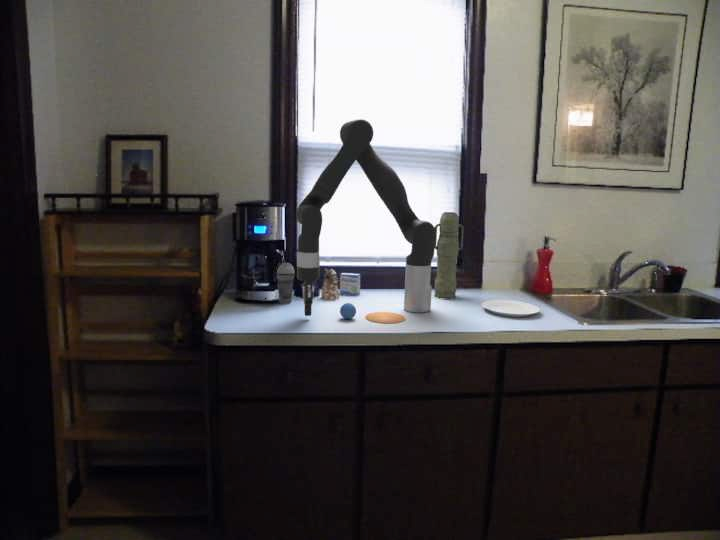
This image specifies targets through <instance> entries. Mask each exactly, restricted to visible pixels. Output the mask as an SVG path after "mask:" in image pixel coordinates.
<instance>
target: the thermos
mask: <svg viewBox="0 0 720 540" xmlns="http://www.w3.org/2000/svg"><path fill="white" fill-rule="evenodd" d="M459 221H460V220H459V215H458V213H456V212H451V211H450V212H448V211H446V212H442V213H441V216H440V219H439V223H437V224H436V225H434V228H435V233H436V239H435V249H434V250H436V256H437V261H436V277H435V280H434V298H436V297H438V298H437V299H440V298H445V299H444V300H452V299H451V298H454V299H456V292H457V279H456V276H457V262H458V261H457V260H458V257H459V252H460V251H461V250H462V251H463V246H464V245H463V244H464V230H465V227H464V226H463V225H462V224H460V222H459ZM438 227H439V235H438ZM459 228H460V237H459V236H458V232H459ZM437 235H438V236H437ZM437 237H438V239H437Z"/></svg>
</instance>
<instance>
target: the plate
mask: <svg viewBox="0 0 720 540" xmlns="http://www.w3.org/2000/svg"><path fill="white" fill-rule="evenodd" d="M481 306H482V307H483V308H485V309H487V310H488V311H490V312H491V313H493V314H496V315H498V316H503V315H504V317H510V316H511V317H513V318H515V317H516V318H519V317H520V318H521V317H522V318H523V317H527V316H531V315H534V314H537V313H539V312H540V310H541V309H540V308H539V307H538V306H536V305H535V304H531V303H528V302H523V301H517V300H508V299H493V300H485V301H484V302H482V303H481ZM492 308H495V309H496V308H497V309H498V310H499V311H500V310H501V311H502V312H497V311H498V310H497V309H496V310H497V311H493V310H491V309H492Z"/></svg>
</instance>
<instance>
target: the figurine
mask: <svg viewBox="0 0 720 540" xmlns="http://www.w3.org/2000/svg"><path fill="white" fill-rule="evenodd" d="M324 272H325V273H324V274H323V284H322V288H321V295H320V296H321V300H324V299H325V300H324V301H337V300H336V299H338V300H340V290H339V277H338V276H337V275H338V274H337V273H336V271H335V270H334V269H333V268H330V269H328V268H325V269H324Z"/></svg>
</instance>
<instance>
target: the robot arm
mask: <svg viewBox="0 0 720 540" xmlns="http://www.w3.org/2000/svg"><path fill="white" fill-rule="evenodd" d="M339 137H340V141H341V143H342V146H341V147H340V149H339V151H337V154H336V155H335V156H334V158H333V159H331V161H330V162H329V163H328V164H327V166H326V167H325V168H324V169H323V170H322V172H321V173H320V175H319V176H318V178H317V180H316V182H314V185H313V186H312V189H311V190H310V191H309V193H308V194H307V195H306V196H305V197H304V199H303V200H302V201H301V202H300V204H299V206H298V207H297V208H296V212H295V219H296V221H297V222H298V223H299V224H300V225H301V228H300V229H301V231H300V234H299V236H298V238H297V256H296V279H298V280H299V281H303V283H302V284H301V288H302V289H301V290H302V298H303V304H304V316H305V317H311V316H312V305H313V301H314V295H315V294H314V291H315V284H314V283H313V281H317V280H319V279H320V272H321V271H320V268H321V265H320V263H321V262H320V261H321V257H320V236H321V231H322V227H323V226H322V225H323V214H322V211H321V210H322V208H323V206H324V205H327V204H328V203H329V202H330V201H331V199H332V198H333V196H334V195H335V194H336V191H337V190H338V188H339V186H340V185H341V183H342V181H343V179H344V178H345V176H346V174H347V173H348V171H349V170H350V169H351V167H352V166H353V165H354V163H355V162H357V164H358V165H359V166H360V167H361V169H362V171H363V173H364V174H365V176H366V178H367V179H368V181H369V182H370V184H371V185H372V187H373V188H374V191H375V192H376V193H377V195H378V197H379V198H380V200H381V201H382V202H383V203H384V205H385V206H386V208H387V209H388V212H390V214H391V215H392V217H393V219H394V220H395V222H396V224H397V225H398V228H399V229H400V231H401V234H402V236H403V238H404V239H405V240H406V241H407V242H408V243H409V244H411V251H410V253H409V254H407V256H406V258H405V274H404V275H405V276H404V277H405V279H404V298H403V299H404V302H403V309H404V310H405V311H406V312H409V313H418V314H419V313H426V312H431V311H432V310H431V309H432V308H431V307H432V292H433V291H432V289H433V287H432V284H431V275H432V260H433V259H434V255H435V250H436V249H435V239H436V233H435V228H434V227H435V225H433V224H432V223H431V222H429V221H426V220H421V219H419V217H418V216H417V215H416V214H415V212H414V211H413V209H412V207H411V205H410V204H409V199H408V194H407V190H406V188H405V187H406V186H404V184H403V181H401V179H400V177H399V175H398V174H397V172H396V171H395V170H394V169H393V168H392V167H391V165H389V164H388V163H387V162H386V161H385V160H384V159H383V158H382V157H381V156H379V154H378V153H377V151H376V150H375V149H374V148H373V146H372V144H371V142H372V141H373V137H374V129H373V126H372V124H371V123H370V122H369V121H368V120H366V119H362V118H359V119H353V120H349V121H346V122H345V123H343V125H341V128H340V130H339Z"/></svg>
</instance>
